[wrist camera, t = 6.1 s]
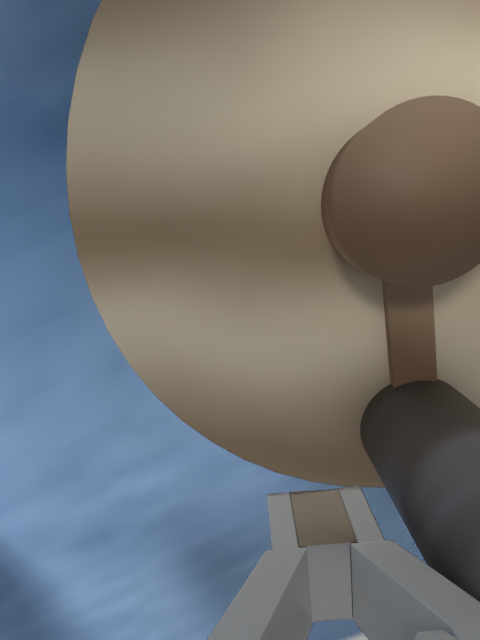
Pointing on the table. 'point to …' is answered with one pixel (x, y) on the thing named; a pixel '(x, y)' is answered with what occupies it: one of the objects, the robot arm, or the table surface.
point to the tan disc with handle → (296, 236)
